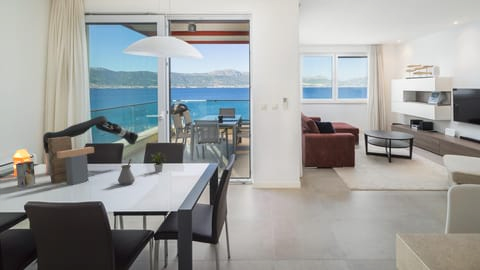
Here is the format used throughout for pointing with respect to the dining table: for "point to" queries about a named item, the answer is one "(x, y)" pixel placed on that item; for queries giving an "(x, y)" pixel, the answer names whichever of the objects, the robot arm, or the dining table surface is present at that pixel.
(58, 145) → the stand
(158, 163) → the house plant
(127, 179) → the coffee pot
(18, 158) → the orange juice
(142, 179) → the dining table surface
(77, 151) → the block
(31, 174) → the coffee box
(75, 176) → the pedestal
